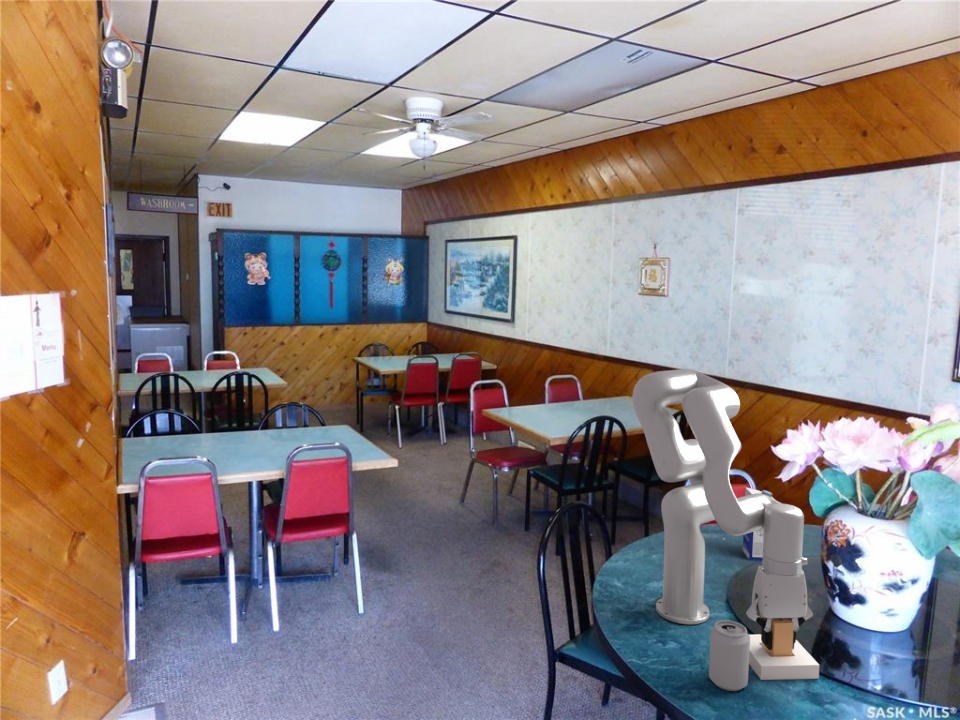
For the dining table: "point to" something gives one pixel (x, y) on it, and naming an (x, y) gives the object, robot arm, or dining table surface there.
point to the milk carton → (754, 535)
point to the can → (729, 655)
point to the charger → (781, 637)
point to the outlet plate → (781, 662)
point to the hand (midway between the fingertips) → (778, 645)
